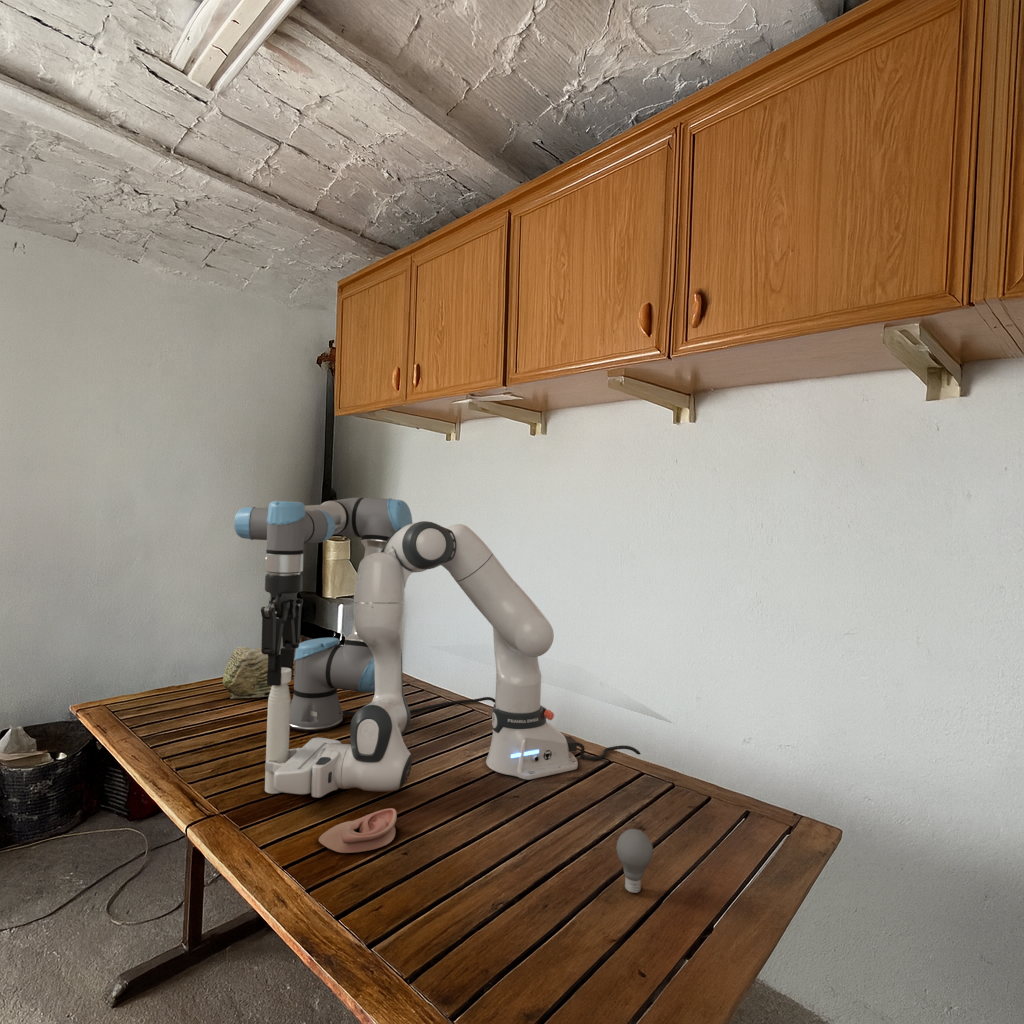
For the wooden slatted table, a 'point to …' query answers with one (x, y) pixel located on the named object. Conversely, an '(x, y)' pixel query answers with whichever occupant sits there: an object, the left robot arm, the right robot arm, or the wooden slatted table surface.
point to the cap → (285, 675)
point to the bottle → (277, 730)
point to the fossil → (247, 674)
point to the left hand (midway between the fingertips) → (280, 681)
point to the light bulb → (634, 857)
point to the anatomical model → (362, 833)
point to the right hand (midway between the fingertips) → (273, 759)
